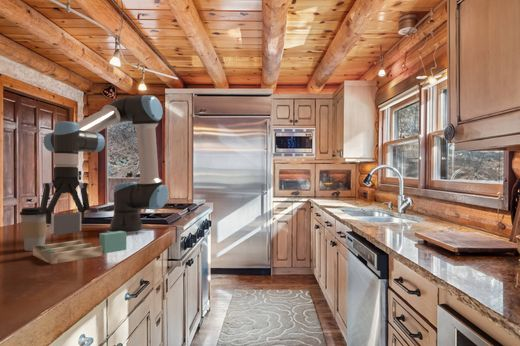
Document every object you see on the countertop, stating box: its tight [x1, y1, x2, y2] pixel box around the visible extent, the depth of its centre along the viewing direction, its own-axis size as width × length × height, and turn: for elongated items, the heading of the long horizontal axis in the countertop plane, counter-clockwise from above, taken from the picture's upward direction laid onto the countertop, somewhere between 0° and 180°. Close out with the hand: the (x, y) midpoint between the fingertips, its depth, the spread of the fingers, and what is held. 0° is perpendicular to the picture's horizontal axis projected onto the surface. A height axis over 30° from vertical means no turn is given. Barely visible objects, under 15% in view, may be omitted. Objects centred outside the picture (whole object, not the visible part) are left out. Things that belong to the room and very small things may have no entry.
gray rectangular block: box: [52, 212, 81, 236], centre depth 120 cm, size 8×4×6 cm, turn 139°
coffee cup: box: [18, 206, 48, 252], centre depth 126 cm, size 9×9×15 cm
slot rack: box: [32, 239, 104, 265], centre depth 117 cm, size 16×18×3 cm
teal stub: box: [98, 231, 127, 254], centre depth 125 cm, size 8×4×6 cm, turn 139°
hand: (65, 231), depth 120 cm, fingers closed on gray rectangular block, 8 cm apart
